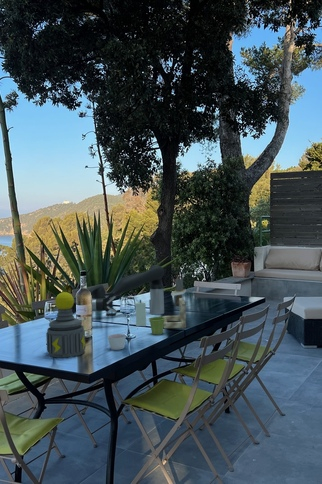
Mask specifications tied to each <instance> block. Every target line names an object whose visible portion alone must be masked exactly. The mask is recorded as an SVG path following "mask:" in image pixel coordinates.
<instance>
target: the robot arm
mask: <svg viewBox="0 0 322 484" xmlns="http://www.w3.org/2000/svg"><path fill="white" fill-rule="evenodd" d="M164 275H165V270H164V268H163V267H162V266H161V265H157V264H154V265H153V264H152V265H151V266H150V267H149V268H148V270H146V271H144V272H140V273H134V274H130V275H127V276H125V277H122V278H121V279H120V280H119V281H118V282H117V284H115V286H114V288H112V290H111V291H110V292H106V290H105V287H104V285H102V284H98V285H96V286H93V287H91V288H89V289H88V290H89V291H90V292H91V297H92V298H91V299H92V311H91V312H95V313H96V312H105V313H106V314H105V316H106V317H116V316H117V314H119V313H120V314H121V312H120V310H121V309H117V310H116V309H115V308H114V306H113V305H114V304H113V302H114V299H121V297H122V298H123V295H121V294H123V293H126V292H129V291H131V290H134V289H135V288H138V287H140V286H143V285H145V284H147V283H148V285H149V298H150V299H149V301H148V304H149V305H148V306H149V308H148V309H149V314H150V315H163V314H165V302H164V301H165V300H164V299H165V297H164V295H165V294H164V284H163V281H162V278H163V277H164ZM76 297H77V296H76ZM76 297H75V296H74V297H73V298H74V304H73V306H72V312H73V315H74V314H75V313H77V311H76ZM110 311H111V312H112V313H111V312H110Z"/></svg>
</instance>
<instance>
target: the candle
mask: <svg viewBox="0 0 322 484" xmlns="http://www.w3.org/2000/svg"><path fill="white" fill-rule="evenodd" d="M126 336H127V335H126V334H124V333H114V334H109V335H107V339H108V344H109V348H110V350H113V351H119V350H123V349H125V343H126Z"/></svg>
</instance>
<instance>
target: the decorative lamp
mask: <svg viewBox="0 0 322 484" xmlns="http://www.w3.org/2000/svg"><path fill="white" fill-rule="evenodd" d="M74 298H75V297H73V295H72V293H70V292H67V291H64V292H63V291H61V292H60V293H59V294H57V296H56V297H55V300H54V303H55V304H54V305H55V306H56V308H57V313H56V316H57V317H55V319H53V320H52V321H50V322H49V323H48V328H47V329H46V330H47V331H46V336H45V337H46V351H47V353H48V355H49V357H52V358H57V359H66V358H73V357H74V358H75V357H78V356H81V355H83V354H84V353H85V350H86V330H85V328H84V325H82V320H81V319H79V318H75V316H74V314H73V312H72V306H73V304H74Z"/></svg>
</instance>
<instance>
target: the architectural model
mask: <svg viewBox="0 0 322 484" xmlns="http://www.w3.org/2000/svg"><path fill="white" fill-rule="evenodd" d="M183 279H184V278H183V277H182V278H178V277H177V278H176V279H175V281H174V282H175V290H173V291H172V292H171V293H170V295H171V296H173V297H174V299H173V300H174V307H177V306H179V298H183V295H184V294H185V293H186V292H187V289H186V288H185V289H184V280H183Z"/></svg>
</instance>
